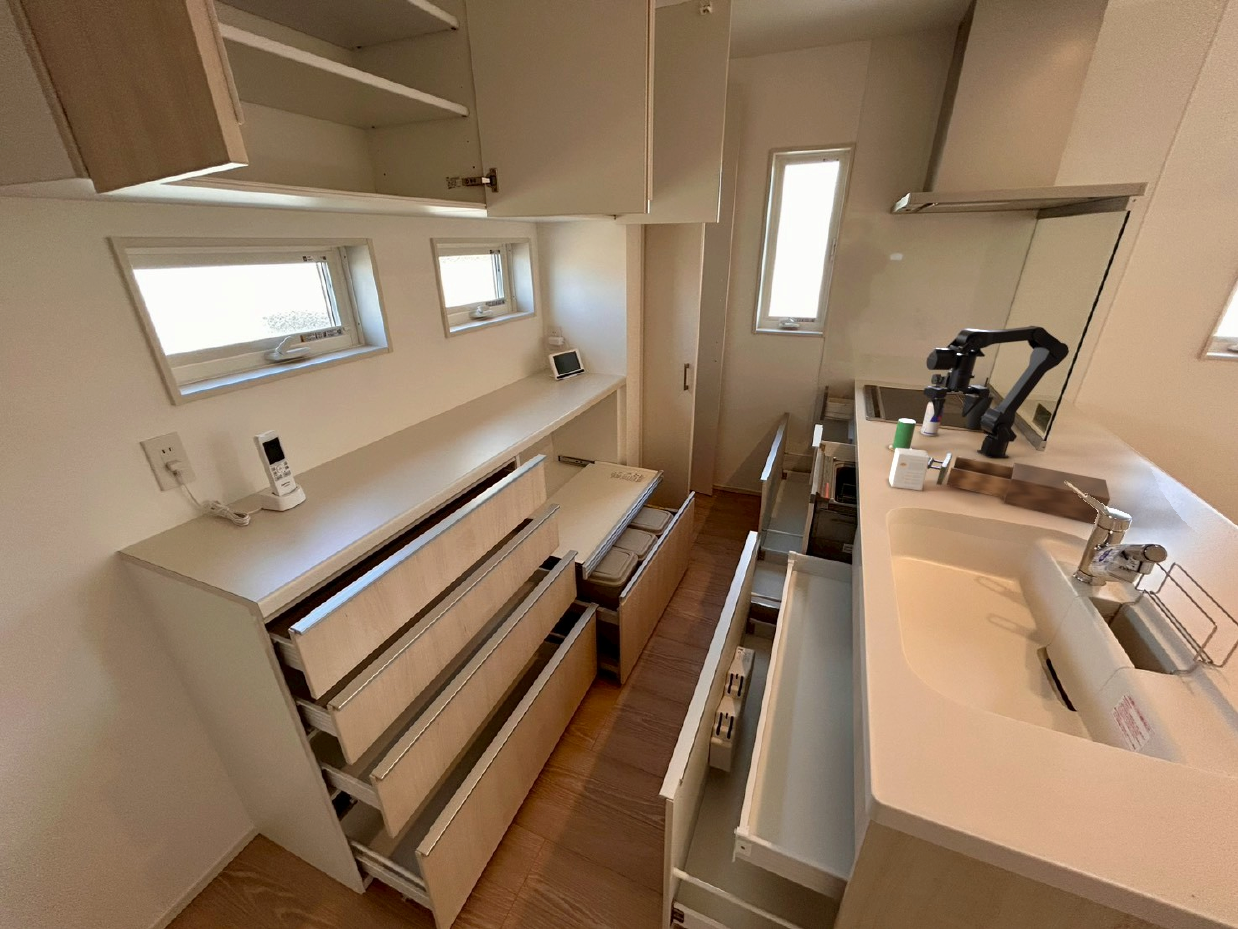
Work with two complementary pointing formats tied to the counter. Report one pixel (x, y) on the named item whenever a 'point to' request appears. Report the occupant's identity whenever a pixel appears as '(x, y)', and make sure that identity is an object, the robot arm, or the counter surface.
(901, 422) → the green can
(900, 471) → the small box
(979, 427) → the drinking cup
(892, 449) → the coaster
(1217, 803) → the counter surface
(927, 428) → the energy drink
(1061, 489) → the cabinet
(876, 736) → the counter surface
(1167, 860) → the counter surface
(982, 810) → the counter surface
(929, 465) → the drawer
